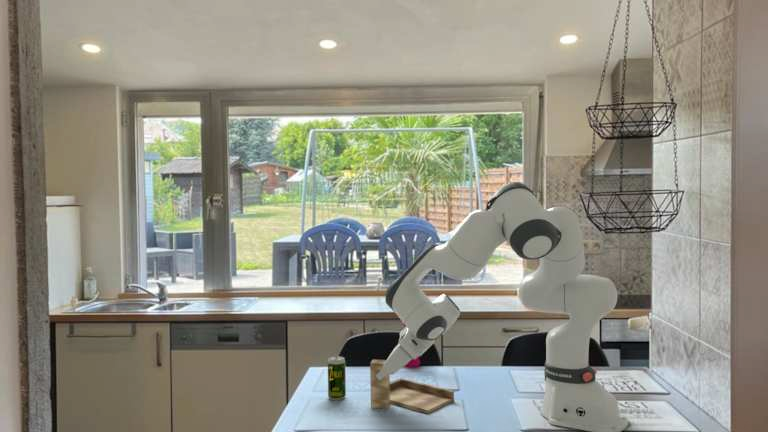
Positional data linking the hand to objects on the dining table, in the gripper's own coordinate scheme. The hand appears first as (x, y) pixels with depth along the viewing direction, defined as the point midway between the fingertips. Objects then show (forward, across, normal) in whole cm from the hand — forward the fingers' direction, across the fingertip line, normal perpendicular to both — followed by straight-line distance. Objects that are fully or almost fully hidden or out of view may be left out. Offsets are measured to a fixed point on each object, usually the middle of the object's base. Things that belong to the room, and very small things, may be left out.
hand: (381, 372), depth 163 cm
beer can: (+18, -6, -3) cm, 19 cm away
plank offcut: (+7, 0, +7) cm, 10 cm away
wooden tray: (+1, -6, +13) cm, 15 cm away
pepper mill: (+5, -44, +9) cm, 45 cm away
